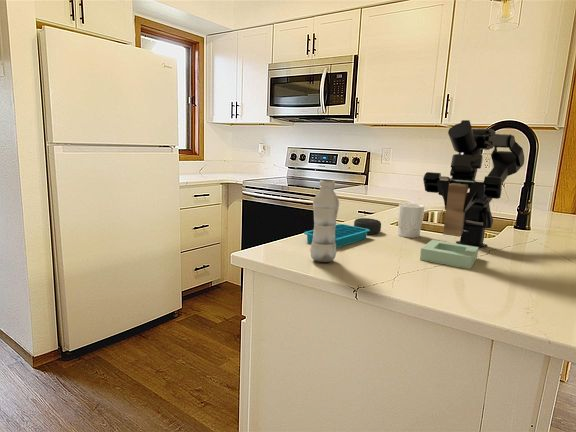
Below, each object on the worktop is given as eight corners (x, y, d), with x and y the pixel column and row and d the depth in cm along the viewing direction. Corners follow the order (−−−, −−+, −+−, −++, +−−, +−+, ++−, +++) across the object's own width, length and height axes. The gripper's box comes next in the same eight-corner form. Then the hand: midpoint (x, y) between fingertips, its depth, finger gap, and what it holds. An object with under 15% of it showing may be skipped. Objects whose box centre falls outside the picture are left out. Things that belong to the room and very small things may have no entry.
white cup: (422, 239, 124) (426, 208, 122) (396, 237, 125) (399, 206, 124) (419, 233, 132) (422, 204, 130) (395, 231, 133) (398, 202, 131)
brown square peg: (446, 231, 105) (451, 183, 102) (462, 233, 103) (468, 184, 100) (443, 234, 102) (448, 184, 99) (459, 236, 99) (465, 185, 97)
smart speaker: (370, 228, 138) (371, 217, 137) (385, 234, 130) (386, 222, 129) (348, 229, 134) (349, 218, 133) (363, 235, 126) (364, 223, 125)
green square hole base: (430, 249, 112) (432, 239, 111) (477, 258, 105) (478, 247, 105) (419, 259, 102) (421, 248, 101) (470, 269, 95) (471, 257, 95)
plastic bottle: (338, 259, 99) (343, 180, 96) (332, 266, 93) (337, 182, 89) (313, 255, 101) (318, 178, 98) (306, 263, 95) (310, 180, 91)
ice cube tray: (301, 242, 116) (302, 232, 115) (339, 232, 131) (340, 223, 130) (334, 250, 108) (334, 240, 108) (371, 239, 123) (371, 229, 123)
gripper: (428, 141, 106) (413, 186, 99) (507, 144, 96) (496, 194, 89) (432, 169, 114) (418, 212, 107) (505, 174, 104) (495, 222, 97)
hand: (454, 210), depth 100 cm, fingers closed on brown square peg, 4 cm apart
